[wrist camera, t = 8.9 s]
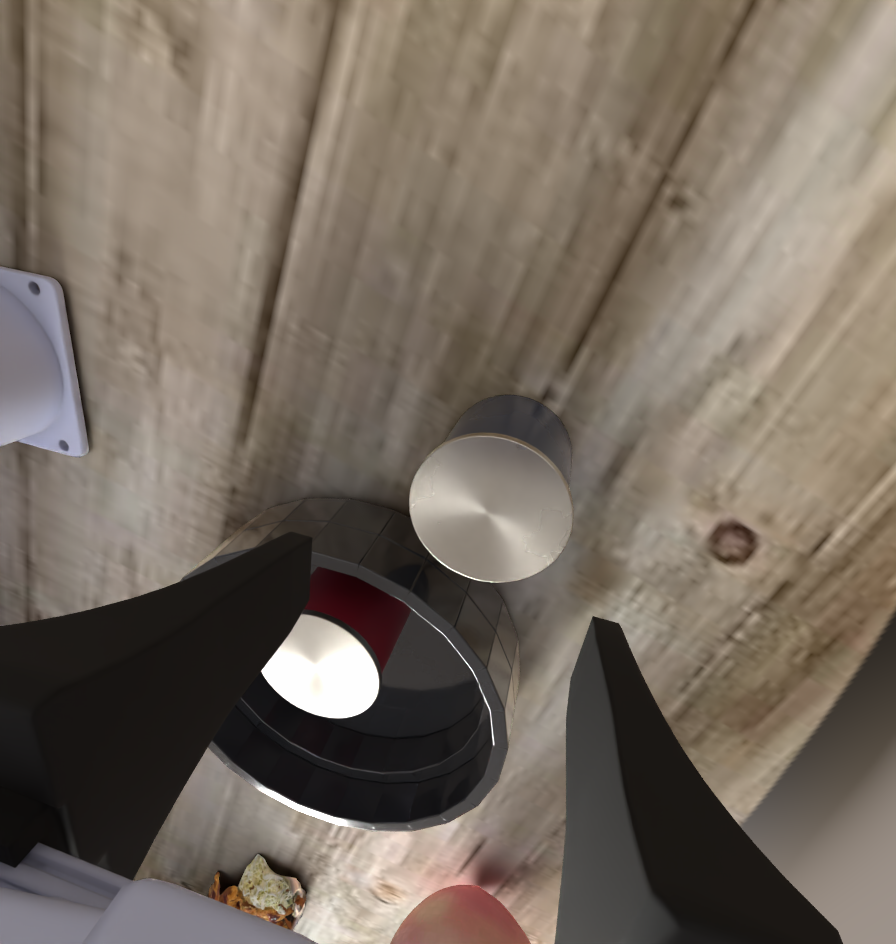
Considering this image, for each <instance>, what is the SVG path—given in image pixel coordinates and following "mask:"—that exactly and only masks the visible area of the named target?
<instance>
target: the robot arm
mask: <svg viewBox="0 0 896 944" xmlns="http://www.w3.org/2000/svg"><path fill="white" fill-rule="evenodd" d="M38 286H39V288H40V290H39V289H38ZM14 441H17V442H21V443H25V444H28V445H32V446H36V447H40V448H43V449H47V450H51V451H54V452H58V453H62V454H66V455H69V456H73V457H82V456H84V455H86V454H87V453H88V452H89V445H88V439H87V433H86V427H85V421H84V415H83V409H82V403H81V397H80V391H79V385H78V379H77V373H76V367H75V361H74V355H73V349H72V343H71V337H70V331H69V325H68V319H67V313H66V307H65V300H64V294H63V290H62V287H61V285H60V284H59V282H58V281H56V280H55V279H54V278H52V277H49V276H44V275H39V274H35V273H30V272H25V271H21V270H16V269H11V268H7V267H2V266H0V447H1V446H4V445H7V444H9V443H12V442H14ZM311 555H312V537H309V536H306V535H302V534H299V533H295V532H291V531H290V532H288V533H286V534H283V535H281V536H279V537H277V538H275V539H273V540H271V541H269V542H267V543H265V544H263V545H261V546H259V547H257V548H255V549H252V550H250V551H248V552H246V553H244V554H242V555H240V556H238V557H236V558H234V559H232V560H229V561H227V562H225V563H223V564H221V565H219V566H216V567H214V568H212V569H209V570H207V571H205V572H202V573H200V574H197V575H195V576H193V577H190V578H188V579H186V580H183V581H181V582H178V583H176V584H173V585H170V586H167V587H165V588H162V589H159V590H156V591H153V592H150V593H147V594H144V595H141V596H138V597H135V598H131V599H128V600H124V601H120V602H117V603H113V604H109V605H105V606H102V607H98V608H94V609H91V610H86V611H82V612H78V613H73V614H68V615H64V616H59V617H53V618H48V619H43V620H38V621H32V622H26V623H19V624H12V625H5V626H0V944H318V943H316V942H314V941H312V940H310V939H308V938H307V937H305V936H303V935H301V934H299V933H296V932H294V931H291V930H289V929H286V928H284V927H281V926H279V925H276V924H274V923H271V922H269V921H266V920H264V919H261V918H259V917H256V916H254V915H251V914H249V913H246V912H244V911H241V910H239V909H236V908H234V907H231V906H229V905H226V904H224V903H221V902H219V901H216V900H214V899H211V898H209V897H206V896H204V895H201V894H199V893H196V892H194V891H191V890H189V889H186V888H184V887H181V886H179V885H176V884H174V883H170V882H166V881H162V880H158V879H153V878H145V879H141V880H137V881H133V879H134V877H135V875H136V873H137V872H138V870H139V868H140V866H141V864H142V862H143V860H144V858H145V856H146V855H147V853H148V851H149V849H150V847H151V845H152V843H153V841H154V839H155V838H156V836H157V834H158V832H159V830H160V829H161V827H162V825H163V823H164V822H165V820H166V818H167V816H168V814H169V813H170V811H171V809H172V807H173V805H174V804H175V802H176V800H177V798H178V797H179V795H180V793H181V791H182V790H183V788H184V786H185V784H186V783H187V781H188V779H189V778H190V776H191V774H192V773H193V771H194V769H195V768H196V766H197V764H198V763H199V761H200V759H201V757H202V756H203V754H204V752H205V751H206V749H207V748H208V746H209V744H210V743H211V741H212V740H213V738H214V736H215V735H216V733H217V732H218V730H219V728H220V727H221V725H222V724H223V722H224V720H225V719H226V717H227V716H228V714H229V713H230V712H231V710H232V709H233V707H234V706H235V705H236V703H237V702H238V700H239V699H240V698H241V697H242V695H243V694H244V693H245V691H246V690H247V689H248V687H249V686H250V685H251V684H252V682H253V681H254V680H255V678H256V677H257V676H258V675H259V673H260V672H261V671H262V669H263V668H264V667H265V665H266V664H267V663H268V662H269V660H270V659H271V658H272V656H273V655H274V654H275V652H276V651H277V650H278V648H279V647H280V646H281V645H282V643H283V642H284V641H285V639H286V638H287V637H288V635H289V634H290V632H291V631H292V629H293V627H294V626H295V624H296V622H297V621H298V619H299V617H300V616H301V614H302V612H303V610H304V608H305V607H306V605H307V603H308V601H309V598H310V577H311ZM555 944H843V942H842V940H841V937H840V935H839V932H838V930H837V929H836V928H834V926H833V925H832V924H831V923H830V922H829V921H827V919H826V918H825V917H824V916H823V915H822V914H821V913H820V912H818V910H817V909H816V908H815V907H814V906H813V905H812V904H811V903H810V902H809V901H808V900H807V899H806V898H805V897H804V896H803V895H802V894H801V893H800V892H799V891H798V890H797V889H796V888H795V887H794V886H793V885H792V884H791V883H790V882H789V881H788V880H787V879H786V878H785V877H784V876H783V875H782V874H781V873H780V872H779V870H778V869H777V868H776V867H775V866H774V865H773V864H772V863H771V862H770V860H769V859H768V858H767V857H766V856H765V855H764V854H763V853H762V852H761V850H759V848H758V847H757V846H756V845H755V844H754V843H753V842H752V840H751V839H750V838H749V837H748V836H747V834H746V833H745V832H744V831H743V830H742V828H741V827H740V826H739V825H738V824H737V822H736V821H735V820H734V819H733V817H732V816H731V815H730V813H729V812H728V811H727V810H726V808H725V807H724V806H723V805H722V803H721V802H720V801H719V800H718V798H717V797H716V796H715V794H714V793H713V792H712V790H711V789H710V788H709V786H708V785H707V784H706V782H705V781H704V780H703V778H702V777H701V775H700V774H699V772H698V771H697V769H696V768H695V767H694V765H693V764H692V762H691V761H690V759H689V758H688V756H687V755H686V753H685V752H684V750H683V748H682V747H681V745H680V744H679V742H678V740H677V739H676V737H675V735H674V734H673V732H672V730H671V728H670V727H669V725H668V723H667V722H666V720H665V718H664V716H663V715H662V713H661V711H660V709H659V707H658V705H657V703H656V702H655V700H654V698H653V696H652V694H651V692H650V690H649V688H648V686H647V684H646V682H645V680H644V678H643V676H642V674H641V671H640V669H639V667H638V665H637V663H636V660H635V658H634V656H633V654H632V651H631V649H630V647H629V644H628V642H627V640H626V637H625V635H624V632H623V630H622V628H621V626H620V625H619V623H615V622H612V621H608V620H605V619H601V618H598V617H594V616H593V617H592V620H591V623H590V626H589V628H588V631H587V634H586V637H585V640H584V642H583V645H582V648H581V651H580V654H579V657H578V659H577V662H576V665H575V668H574V671H573V673H572V676H571V681H570V689H569V697H568V706H567V715H566V834H565V845H564V856H563V867H562V878H561V888H560V898H559V907H558V917H557V927H556V936H555Z"/></svg>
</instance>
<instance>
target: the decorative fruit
mask: <svg viewBox="0 0 896 944" xmlns="http://www.w3.org/2000/svg"><path fill="white" fill-rule="evenodd" d="M390 944H531V943H530V941H529V940H528V938H527V936H526V935H525V933H524V932H523V930H522V929H521V927H520V926H519V925H518V923H517V922H516V920H515V919H514V918H513V916H512V915H511V914H510V913H509V911H508V910H507V909H506V908H505V907H504V906H503V905H502V904H501V903H500V902H499V901H498V900H497V899H496V898H494V897H493V896H492V895H490V894H489V893H487V892H486V891H484V890H483V889H481V888H480V887H477V886H474V885H456V886H451V887H448V888H444V889H442V890H439V891H437V892H435V893H434V894H432V895H430V896H429V897H427V898H426V899H425V900H423V901H422V902H421V903H420V904H419V905H418V906H417V907H416V908H414V909H413V911H412V912H411V913H410V914H409V915H408V916H407V917H406V919H405V920H404V921H403V923H402V924H401V925H400V927H399V929H398V930H397V932H396V933H395V935H394V937H393V939H392V941H391V943H390Z"/></svg>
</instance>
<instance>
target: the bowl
mask: <svg viewBox="0 0 896 944" xmlns="http://www.w3.org/2000/svg"><path fill="white" fill-rule="evenodd" d="M290 531H291V532H295V533H299V534H302V535H306V536H309V537H312V555H311V575H312V573H313V572H314V571H315V570H316V568H317V567H322V568H325V569H329V570H332V571H336V572H339V573H343V574H346V575H350V576H353V577H356V578H358V579H360V580H362V581H364V582H366V583H368V584H370V585H372V586H374V587H376V588H378V589H379V590H381V591H383V592H385V593H387V594H389V595H391V596H393V597H395V598H397V599H399V600H401V601H402V602H404V603H405V604H406V605H407V606H409V607H410V608H411V612H410V614H409V617H408V619H407V621H406V623H405V625H404V627H403V629H402V632H401V634H400V636H399V638H398V640H397V642H396V644H395V647H394V649H393V651H392V653H391V655H390V657H389V659H388V662H387V664H386V666H385V668H384V670H383V672H382V684H381V688H380V691H379V693H378V696H377V698H376V700H375V701H374V703H373V704H372V705H371V706H370V707H369V708H368V709H367V710H365V711H364V712H362V713H360V714H358V715H355V716H352V717H346V718H329V717H323V716H319V715H315V714H312V713H310V712H307V711H305V710H303V709H301V708H298V707H297V706H295V705H293V704H292V703H290V702H289V701H287V700H286V699H285V698H283V697H282V696H281V695H280V694H279V693H278V692H277V691H276V690H275V689H274V688H273V687H272V686H271V685H270V684H269V683H268V681H267V680H266V678H265V677H264V675H263V673H262V672H260V673H259V675H258V676H257V677H256V678H255V680H254V681H253V682H252V684H251V685H250V686H249V687H248V689H247V690H246V691H245V693H244V694H243V695H242V697H241V698H240V699H239V700H238V702H237V703H236V705H235V706H234V707H233V709H232V710H231V712H230V713H229V714H228V716H227V717H226V719H225V720H224V722H223V724H222V725H221V727H220V728H219V730H218V732H217V733H216V735H215V736H214V738H213V740H212V741H211V743H210V744H209V746H208V748H209V749H210V750H211V751H212V752H213V753H214V754H215V755H216V756H217V757H218V758H219V759H220V760H221V761H222V762H223V763H224V764H225V765H226V766H227V767H228V768H229V769H231V770H232V771H234V772H235V773H236V774H238V775H239V776H240V777H242V778H243V779H244V780H246V781H247V782H248V783H250V784H251V785H252V786H254V787H255V788H256V789H258V790H260V791H261V792H263V793H265V794H267V795H269V796H271V797H273V798H274V799H276V800H278V801H280V802H282V803H284V804H286V805H287V806H289V807H291V808H293V809H295V810H296V809H297V811H300V812H303V813H305V814H308V815H311V816H314V817H317V818H319V819H322V820H325V821H328V822H331V823H333V824H336V825H342V826H347V827H352V828H358V829H363V830H369V831H376V832H377V831H416V830H420V829H425V828H429V827H433V826H437V825H442V824H446V823H447V822H451V821H452V820H454V819H456V818H458V817H459V816H461V815H463V814H465V813H466V812H468V811H470V810H472V809H473V808H475V807H476V806H478V805H479V804H480V803H481V801H482V800H483V799H484V798H485V797H486V795H487V794H488V793H489V792H490V791H491V789H492V788H493V787H494V786H495V785H496V783H497V782H498V781H499V778H500V775H501V771H502V768H503V765H504V761H505V758H506V755H507V751H508V747H509V741H510V735H511V729H512V723H513V716H514V710H515V704H516V698H517V692H518V685H519V679H520V672H521V671H520V657H519V643H518V636H517V633H516V631H515V628H514V626H513V623H512V621H511V618H510V616H509V613H508V611H507V608H506V606H505V603H504V601H503V600H502V598H501V596H500V595H499V594H498V592H497V591H496V590H495V588H494V587H493V586H492V584H491V583H490V582H485V581H480V580H475V579H472V578H469V577H466V576H463V575H461V574H459V573H457V572H455V571H453V570H451V569H449V568H448V567H446V566H445V565H443V564H442V563H441V562H439V561H438V560H437V559H436V558H435V557H434V556H433V555H432V554H431V553H430V552H429V551H428V550H427V549H426V548H425V546H424V545H423V543H422V542H421V540H420V539H419V537H418V535H417V533H416V531H415V529H414V526H413V524H412V521H411V518H409V517H407V516H405V515H403V514H401V513H399V512H397V511H395V510H393V509H389V508H385V507H381V506H377V505H374V504H370V503H366V502H362V501H358V500H354V499H350V500H349V499H324V498H308V499H307V498H304V499H301V500H297V501H293V502H290V503H286V504H282V505H278V506H275V507H271V508H268V509H267V510H265V511H264V512H262V513H261V514H259V515H258V516H256V517H255V518H253V519H252V520H250V521H249V522H247V523H246V524H244V525H243V526H241V527H240V528H239V529H238V530H237V531H236V532H234V533H233V534H232V535H231V536H230V537H229V538H228V539H226V540H225V541H224V542H223V543H222V544H221V545H219V546H218V547H217V548H216V549H215V550H214V551H213V552H211V553H210V554H209V555H208V556H207V557H206V558H205V559H203V560H202V561H201V562H200V563H199V564H198V565H197V566H195V567H194V568H193V569H192V570H191V571H190V572H188V573H187V574H186V575H185V576H184V577H183V578H182V579H181V581H183V580H186V579H188V578H190V577H193V576H195V575H197V574H200V573H202V572H205V571H207V570H209V569H212V568H214V567H216V566H219V565H221V564H223V563H225V562H227V561H229V560H232V559H234V558H236V557H238V556H240V555H242V554H244V553H246V552H248V551H250V550H252V549H255V548H257V547H259V546H261V545H263V544H265V543H267V542H269V541H271V540H273V539H275V538H277V537H279V536H281V535H283V534H286V533H288V532H290ZM181 581H180V582H181Z"/></svg>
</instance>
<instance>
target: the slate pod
mask: <svg viewBox="0 0 896 944" xmlns="http://www.w3.org/2000/svg"><path fill="white" fill-rule="evenodd" d="M571 462H572V447H571V442H570V438H569V436H568V433H567V431H566V429H565V427H564V425H563V424H562V422H561V421H560V420H559V418H558V417H557V416H556V415H555V414H554V413H553V412H552V411H551V410H549V409H548V408H547V407H546V406H544V405H542V404H541V403H539V402H537V401H535V400H532V399H530V398H526V397H523V396H517V395H499V396H494V397H490V398H487V399H484V400H482V401H480V402H478V403H476V404H475V405H473V406H472V407H470V408H469V409H468V410H467V411H466V412H465V413H464V414H463V415H462V416H461V418H460V419H459V420H458V422H457V423H456V425H455V426H454V428H453V429H452V431H451V432H450V434H449V435H448V437H447V438H446V440H445V441H444V443H443V444H441V445H440V446H439V447H437V448H436V449H434V450H433V451H432V452H431V453H430V454H429V455H428V456H427V457H426V458H425V460H424V461H423V462H422V464H421V465H420V466H419V468H418V470H417V472H416V473H415V475H414V478H413V481H412V483H411V487H410V492H409V512H410V516H411V521H412V524H413V526H414V529H415V531H416V533H417V535H418V537H419V539H420V540H421V542H422V543H423V545H424V546H425V548H426V549H427V550H428V551H429V552H430V553H431V554H432V555H433V556H434V557H435V558H436V559H437V560H438V561H439V562H441V563H442V564H443V565H445V566H446V567H448V568H449V569H451V570H453V571H455V572H457V573H459V574H461V575H463V576H466V577H469V578H472V579H475V580H480V581H485V582H513V581H518V580H522V579H525V578H528V577H531V576H533V575H535V574H537V573H539V572H541V571H542V570H544V569H545V568H547V567H548V566H550V565H551V564H552V563H553V562H554V561H555V560H556V559H557V558H558V556H559V555H560V554H561V553H562V551H563V550H564V548H565V546H566V544H567V543H568V540H569V537H570V535H571V531H572V526H573V513H574V510H573V500H572V496H571V492H570V489H569V484H570V473H571Z"/></svg>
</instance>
